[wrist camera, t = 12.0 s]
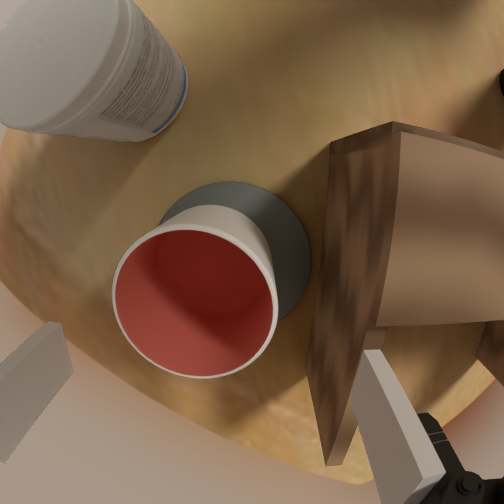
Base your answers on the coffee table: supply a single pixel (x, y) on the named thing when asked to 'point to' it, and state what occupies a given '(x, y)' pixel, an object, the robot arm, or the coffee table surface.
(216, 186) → the coaster
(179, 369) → the cup
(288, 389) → the coffee table surface
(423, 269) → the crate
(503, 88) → the cup
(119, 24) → the supplement tub
